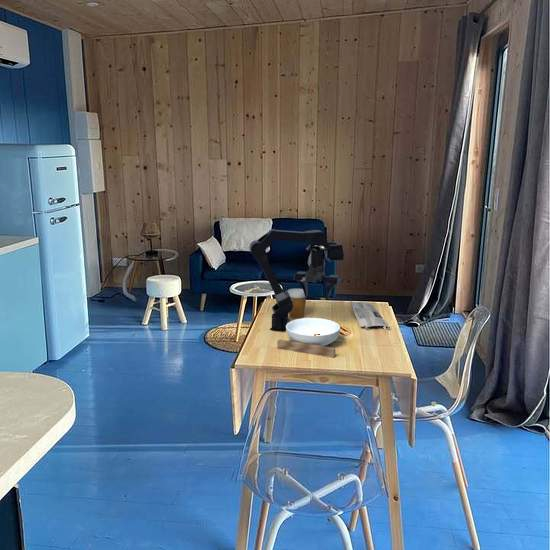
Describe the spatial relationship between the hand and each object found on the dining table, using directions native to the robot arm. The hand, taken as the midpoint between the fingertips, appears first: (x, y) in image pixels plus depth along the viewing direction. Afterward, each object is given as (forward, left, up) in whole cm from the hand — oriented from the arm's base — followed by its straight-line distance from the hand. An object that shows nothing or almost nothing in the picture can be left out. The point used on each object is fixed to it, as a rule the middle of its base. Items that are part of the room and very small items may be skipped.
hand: (316, 298), depth 217 cm
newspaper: (+16, +24, -14) cm, 32 cm away
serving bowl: (+5, -17, -13) cm, 22 cm away
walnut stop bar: (+6, -28, -13) cm, 31 cm away
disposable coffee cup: (-13, +11, -13) cm, 22 cm away
